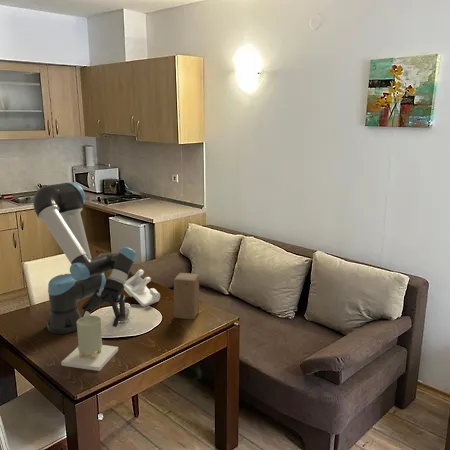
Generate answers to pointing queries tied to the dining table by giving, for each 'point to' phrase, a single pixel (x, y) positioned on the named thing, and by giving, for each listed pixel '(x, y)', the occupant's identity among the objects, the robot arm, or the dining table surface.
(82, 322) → the can
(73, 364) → the standoff plate
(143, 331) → the dining table surface
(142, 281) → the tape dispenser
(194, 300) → the wooden block
